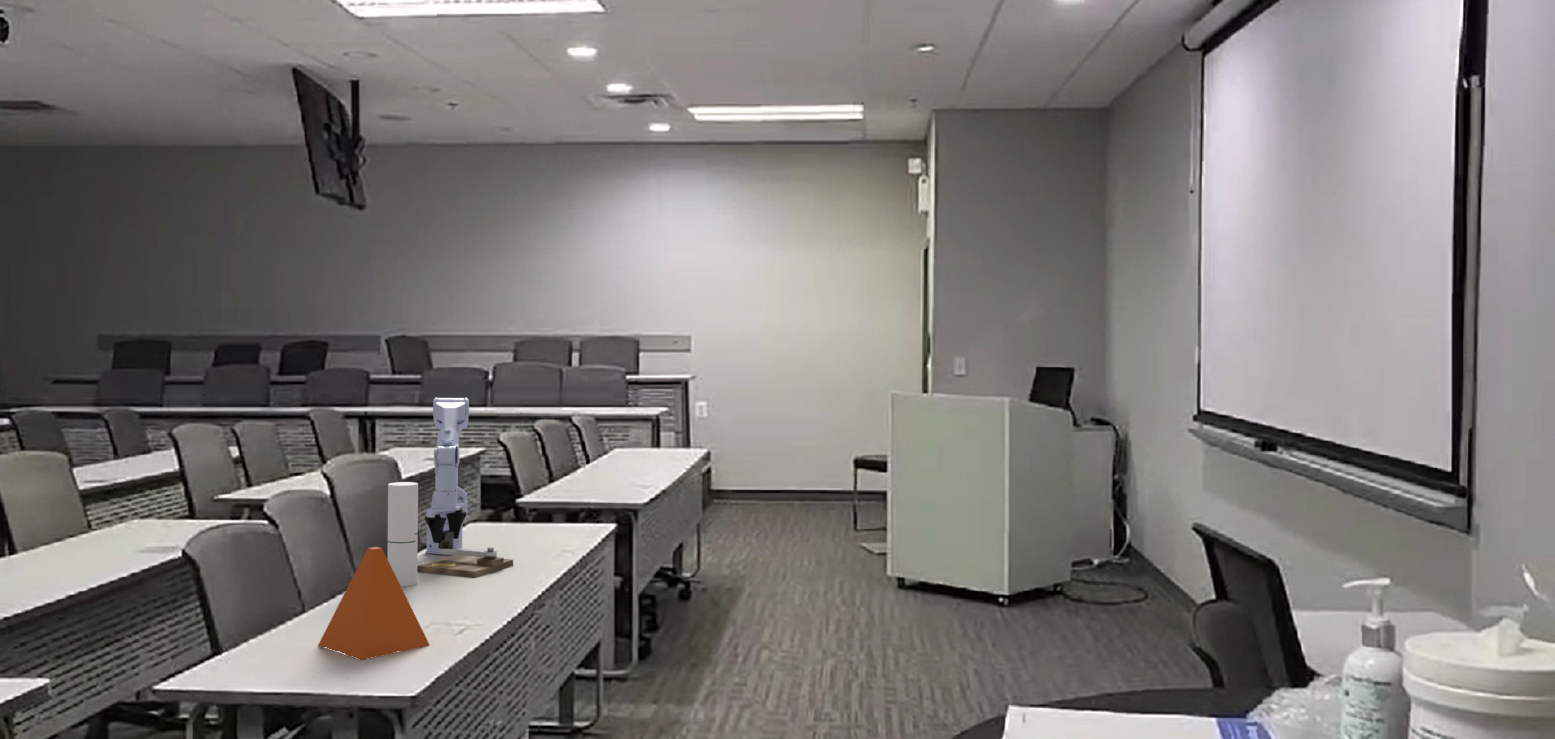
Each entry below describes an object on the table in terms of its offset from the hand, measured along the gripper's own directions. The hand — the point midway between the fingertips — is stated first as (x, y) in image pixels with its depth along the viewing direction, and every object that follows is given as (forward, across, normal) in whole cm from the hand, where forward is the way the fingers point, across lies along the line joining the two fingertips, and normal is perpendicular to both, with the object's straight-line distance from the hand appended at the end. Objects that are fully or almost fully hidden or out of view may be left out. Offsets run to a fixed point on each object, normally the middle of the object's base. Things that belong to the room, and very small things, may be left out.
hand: (445, 540), depth 335 cm
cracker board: (+7, -1, -7) cm, 10 cm away
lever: (+3, 0, -7) cm, 8 cm away
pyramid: (+7, -76, -36) cm, 84 cm away
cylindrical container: (+7, -24, -4) cm, 25 cm away
